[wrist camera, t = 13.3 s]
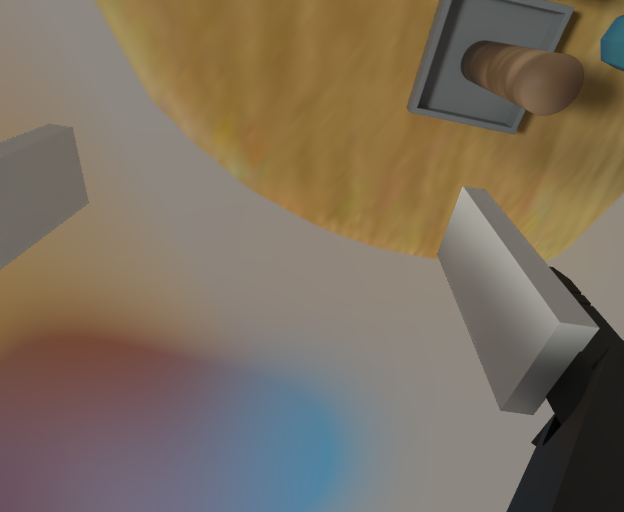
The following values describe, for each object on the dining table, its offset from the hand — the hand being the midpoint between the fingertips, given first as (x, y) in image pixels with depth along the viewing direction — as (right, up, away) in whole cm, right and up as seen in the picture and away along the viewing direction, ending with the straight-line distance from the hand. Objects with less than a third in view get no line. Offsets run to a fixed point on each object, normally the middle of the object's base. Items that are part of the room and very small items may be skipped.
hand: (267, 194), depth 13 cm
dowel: (+19, +19, +27) cm, 38 cm away
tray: (+19, +19, +27) cm, 38 cm away
